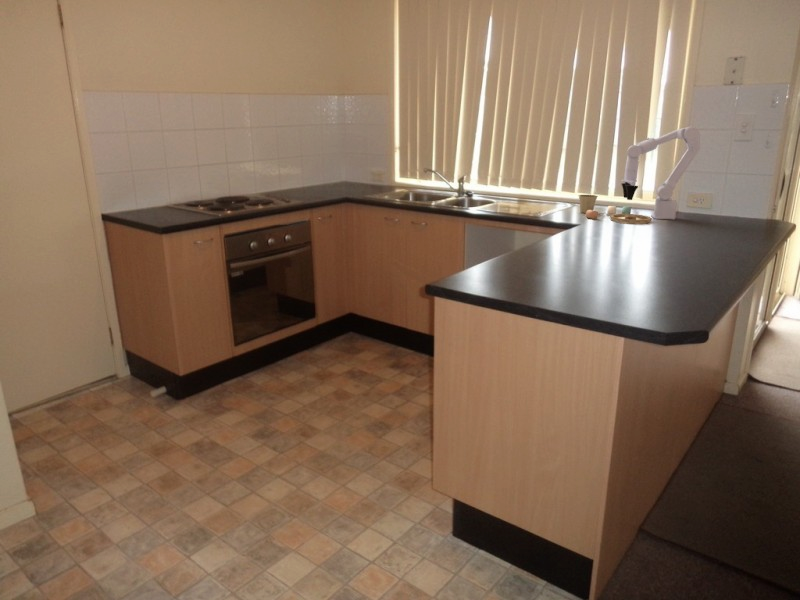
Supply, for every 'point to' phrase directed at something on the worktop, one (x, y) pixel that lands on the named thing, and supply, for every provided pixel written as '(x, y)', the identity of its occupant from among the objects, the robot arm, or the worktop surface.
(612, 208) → the bead cream
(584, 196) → the flower pot
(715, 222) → the worktop surface
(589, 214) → the pink rounded lump
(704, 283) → the worktop surface
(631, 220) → the ring tray
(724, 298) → the worktop surface
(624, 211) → the bead teal
